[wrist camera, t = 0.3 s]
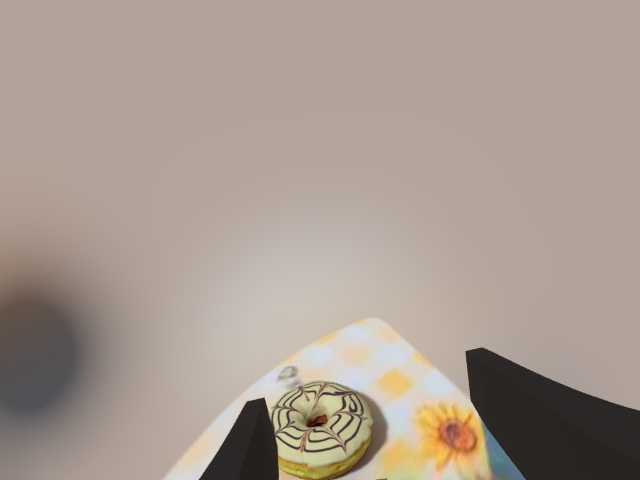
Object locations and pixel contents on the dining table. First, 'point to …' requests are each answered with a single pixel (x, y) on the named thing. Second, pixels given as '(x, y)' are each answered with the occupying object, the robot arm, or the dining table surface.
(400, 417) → the dining table surface
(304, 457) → the decorated donut
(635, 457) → the robot arm
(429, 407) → the dining table surface
